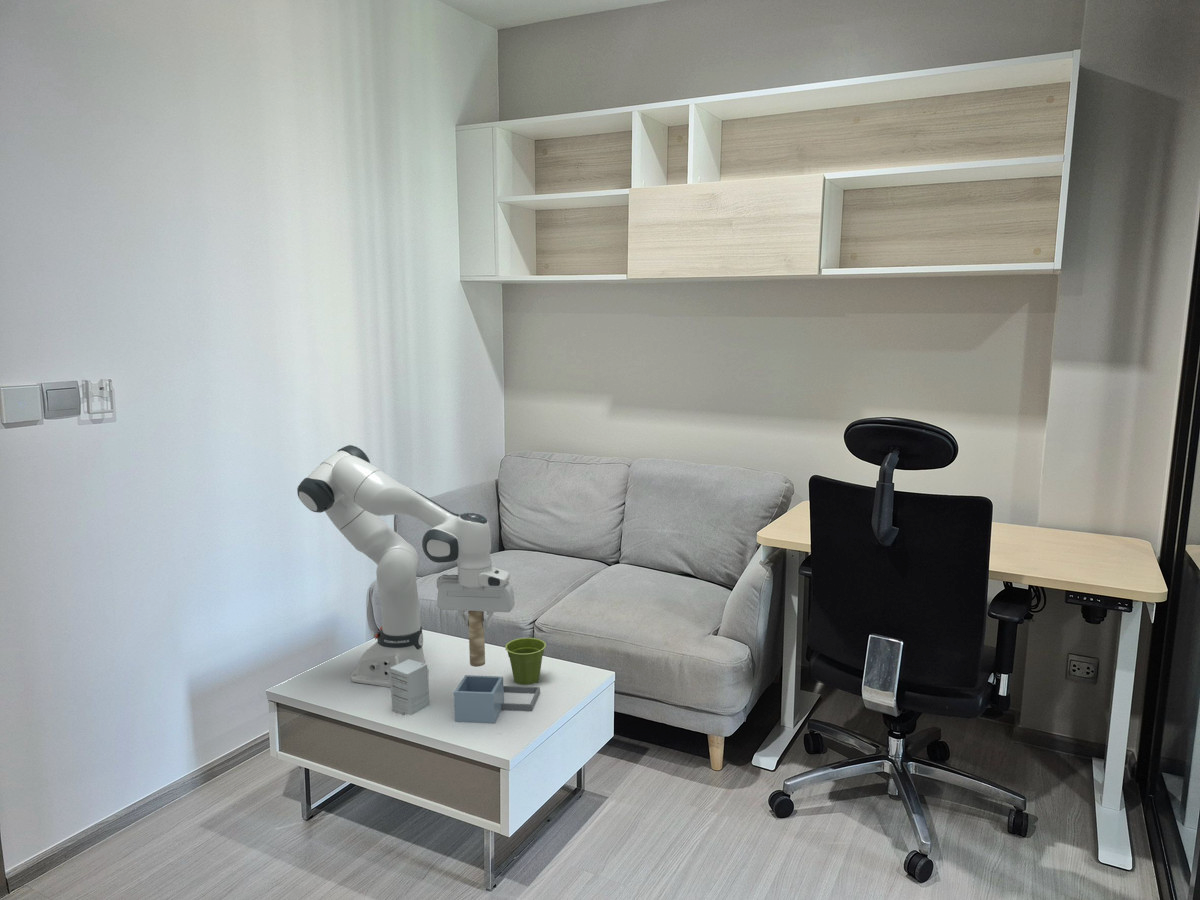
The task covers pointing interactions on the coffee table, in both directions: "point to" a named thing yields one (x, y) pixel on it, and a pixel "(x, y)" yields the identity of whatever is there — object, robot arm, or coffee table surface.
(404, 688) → the supplement box
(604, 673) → the coffee table surface
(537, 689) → the tray
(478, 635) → the dowel
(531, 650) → the plant pot
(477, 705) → the blue storage bin
